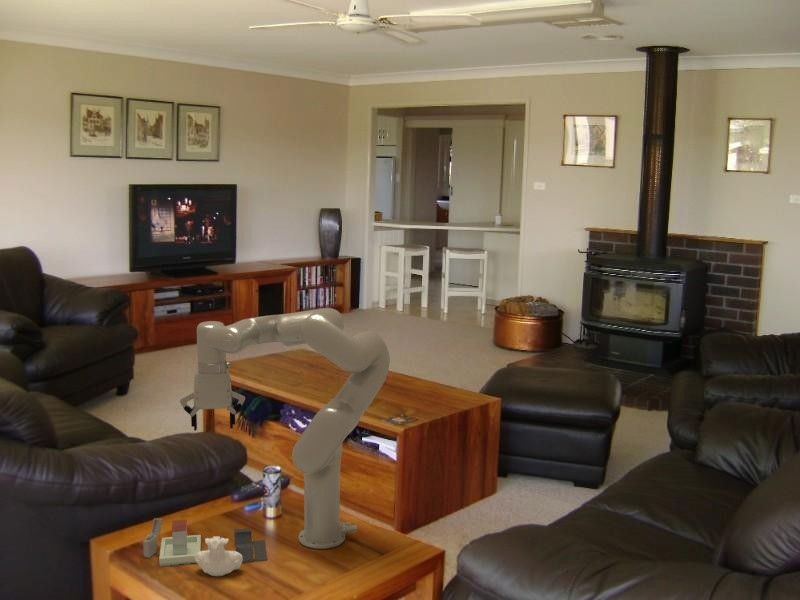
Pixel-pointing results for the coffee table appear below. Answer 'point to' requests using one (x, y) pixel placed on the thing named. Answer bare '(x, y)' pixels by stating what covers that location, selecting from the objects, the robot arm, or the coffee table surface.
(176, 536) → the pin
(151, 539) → the lighter
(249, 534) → the bracket
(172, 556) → the tray
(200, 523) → the coffee table surface
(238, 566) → the white rounded irregular piece
